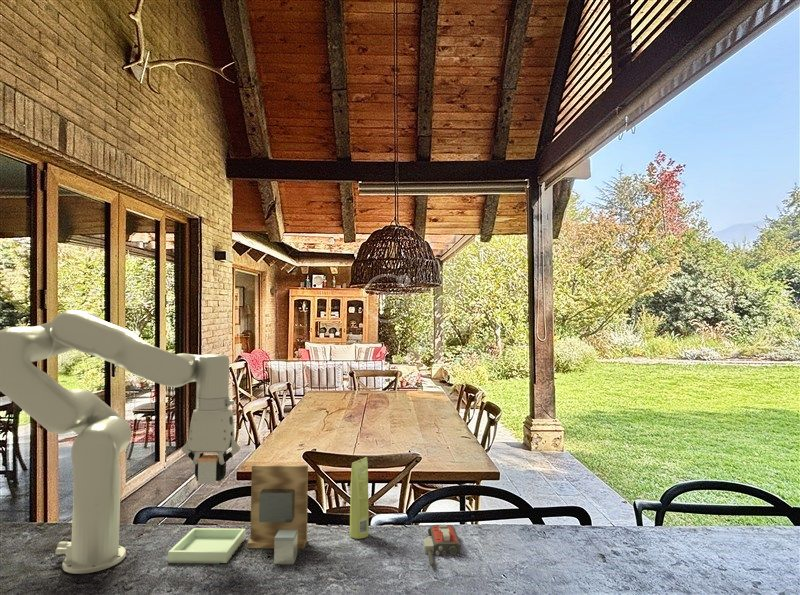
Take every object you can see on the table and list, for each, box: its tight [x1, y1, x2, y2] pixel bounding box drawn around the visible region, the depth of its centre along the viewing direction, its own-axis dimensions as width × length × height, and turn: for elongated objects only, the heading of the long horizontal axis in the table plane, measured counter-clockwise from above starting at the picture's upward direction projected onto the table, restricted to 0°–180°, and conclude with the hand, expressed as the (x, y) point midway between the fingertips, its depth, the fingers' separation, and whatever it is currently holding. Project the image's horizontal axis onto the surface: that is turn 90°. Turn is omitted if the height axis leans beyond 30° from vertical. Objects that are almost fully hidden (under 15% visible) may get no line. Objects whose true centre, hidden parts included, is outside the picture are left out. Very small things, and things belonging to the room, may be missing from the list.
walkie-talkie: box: [423, 524, 462, 568], centre depth 123 cm, size 9×4×20 cm
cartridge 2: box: [273, 530, 298, 565], centre depth 118 cm, size 4×4×6 cm
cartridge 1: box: [197, 453, 220, 485], centre depth 124 cm, size 4×4×6 cm
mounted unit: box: [246, 464, 309, 550], centre depth 126 cm, size 14×5×19 cm, turn 89°
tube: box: [349, 456, 370, 540], centre depth 132 cm, size 6×5×20 cm
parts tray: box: [167, 527, 247, 564], centre depth 123 cm, size 14×14×2 cm
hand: (210, 478), depth 124 cm, fingers closed on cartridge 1, 4 cm apart
